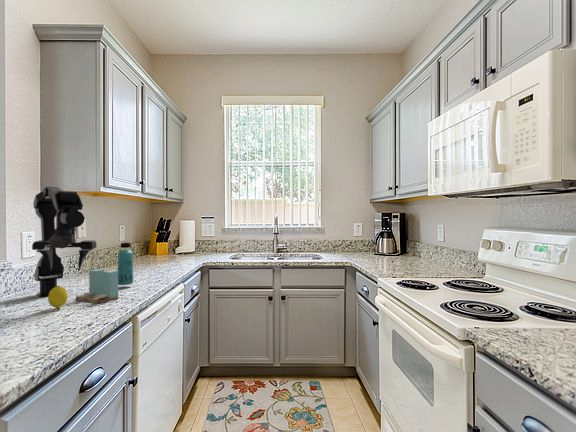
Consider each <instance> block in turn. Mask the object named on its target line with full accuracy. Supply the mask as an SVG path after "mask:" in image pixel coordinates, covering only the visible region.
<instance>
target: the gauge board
mask: <svg viewBox="0 0 576 432" xmlns="http://www.w3.org/2000/svg"><path fill="white" fill-rule="evenodd" d="M101 295H103V294H101ZM118 299H119V295H118V296H115V297H112V298H108V297H103V298H99V295H97V296H94V295H88V296H84V294H81V295H76V296H75V300H76V301H80V300H82V302H87V301H88V302H89V303H93V302H94V303H95V304H105V303H107V302H112V301H115V300H118Z"/></svg>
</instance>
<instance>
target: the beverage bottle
mask: <svg viewBox="0 0 576 432" xmlns="http://www.w3.org/2000/svg"><path fill="white" fill-rule="evenodd" d="M131 247H132V246H131V242H121V243H120V248H121V249H122V250H120V251H117V270H116V271H118V286H129V285H133V284H134V283H133V282H134V252H133V250H131V249H126V248H131ZM124 248H125V249H124Z"/></svg>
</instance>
